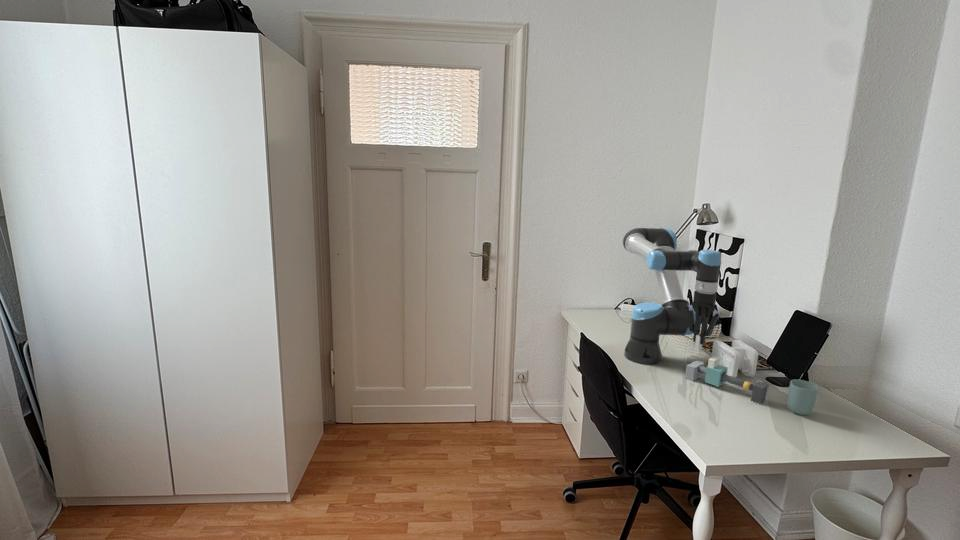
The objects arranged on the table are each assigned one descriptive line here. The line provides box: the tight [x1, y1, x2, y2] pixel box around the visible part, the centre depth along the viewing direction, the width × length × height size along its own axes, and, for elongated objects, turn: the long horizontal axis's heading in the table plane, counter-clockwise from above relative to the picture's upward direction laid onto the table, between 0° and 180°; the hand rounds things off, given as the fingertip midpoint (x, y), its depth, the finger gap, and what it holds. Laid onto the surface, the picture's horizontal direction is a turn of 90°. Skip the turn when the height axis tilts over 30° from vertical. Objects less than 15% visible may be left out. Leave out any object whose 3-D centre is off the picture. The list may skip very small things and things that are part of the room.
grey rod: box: [697, 366, 755, 392], centre depth 169 cm, size 21×3×3 cm, turn 39°
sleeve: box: [704, 356, 728, 388], centre depth 171 cm, size 5×6×9 cm
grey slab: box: [684, 360, 705, 382], centre depth 177 cm, size 3×8×5 cm, turn 129°
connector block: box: [750, 380, 769, 405], centre depth 160 cm, size 3×5×6 cm, turn 129°
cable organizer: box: [710, 339, 759, 378], centre depth 182 cm, size 15×11×12 cm
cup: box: [786, 378, 819, 416], centre depth 152 cm, size 8×8×10 cm
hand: (697, 350), depth 175 cm, fingers closed
